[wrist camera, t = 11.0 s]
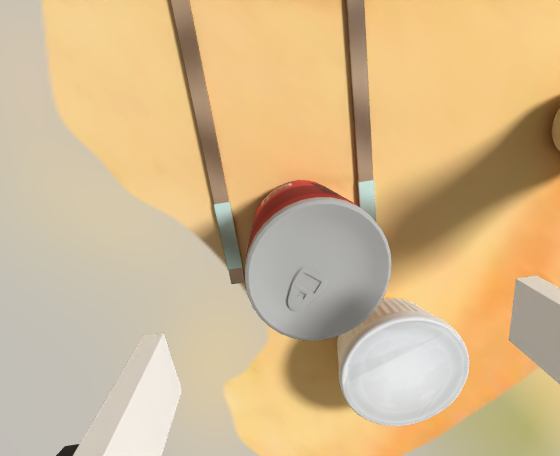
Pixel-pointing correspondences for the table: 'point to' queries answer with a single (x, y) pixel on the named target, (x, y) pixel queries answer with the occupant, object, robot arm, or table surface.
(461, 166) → the table surface
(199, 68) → the guide strips
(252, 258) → the canned food
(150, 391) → the robot arm
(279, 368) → the table surface
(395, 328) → the ramekin
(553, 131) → the plastic bottle
